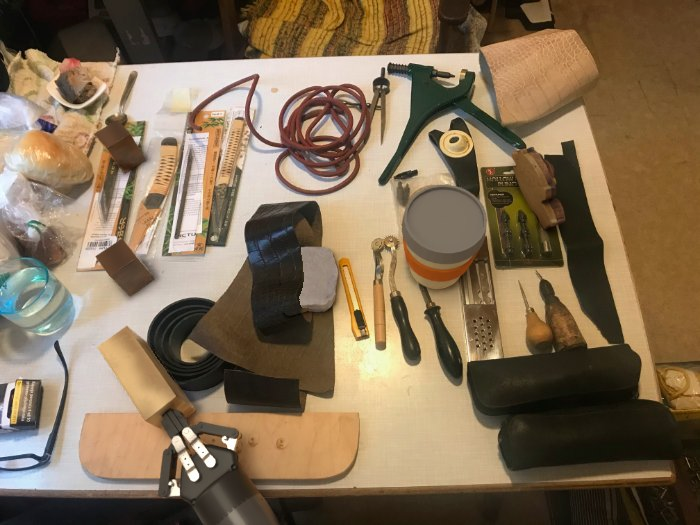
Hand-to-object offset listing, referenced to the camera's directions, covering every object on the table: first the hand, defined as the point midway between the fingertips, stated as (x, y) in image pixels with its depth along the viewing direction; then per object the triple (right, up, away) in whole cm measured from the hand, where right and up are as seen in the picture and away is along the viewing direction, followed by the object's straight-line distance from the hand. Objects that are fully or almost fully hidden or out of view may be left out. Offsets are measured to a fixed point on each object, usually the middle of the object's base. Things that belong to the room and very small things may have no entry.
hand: (167, 413), depth 72 cm
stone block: (+19, +17, +16) cm, 30 cm away
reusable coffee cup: (+40, +20, +16) cm, 48 cm away
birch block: (-4, +2, +8) cm, 9 cm away
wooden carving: (+59, +32, +22) cm, 70 cm away
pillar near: (-12, +18, +18) cm, 28 cm away
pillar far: (-19, +41, +31) cm, 55 cm away
